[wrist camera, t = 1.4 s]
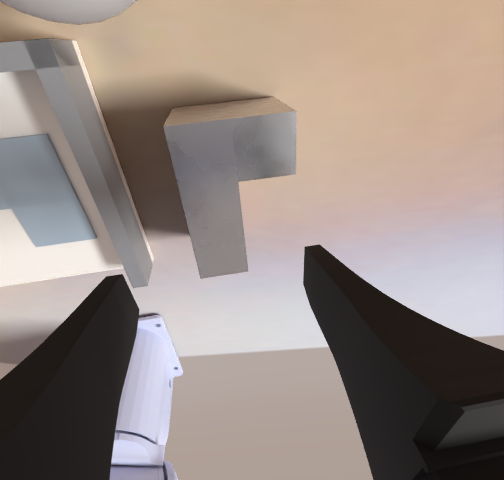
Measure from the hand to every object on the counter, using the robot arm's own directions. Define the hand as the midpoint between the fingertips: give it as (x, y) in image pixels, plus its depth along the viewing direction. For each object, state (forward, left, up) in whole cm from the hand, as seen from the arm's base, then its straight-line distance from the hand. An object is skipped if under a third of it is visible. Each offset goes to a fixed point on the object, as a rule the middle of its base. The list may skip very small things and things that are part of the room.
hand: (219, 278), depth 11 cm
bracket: (+1, -1, -10) cm, 10 cm away
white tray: (+2, +13, -10) cm, 16 cm away
